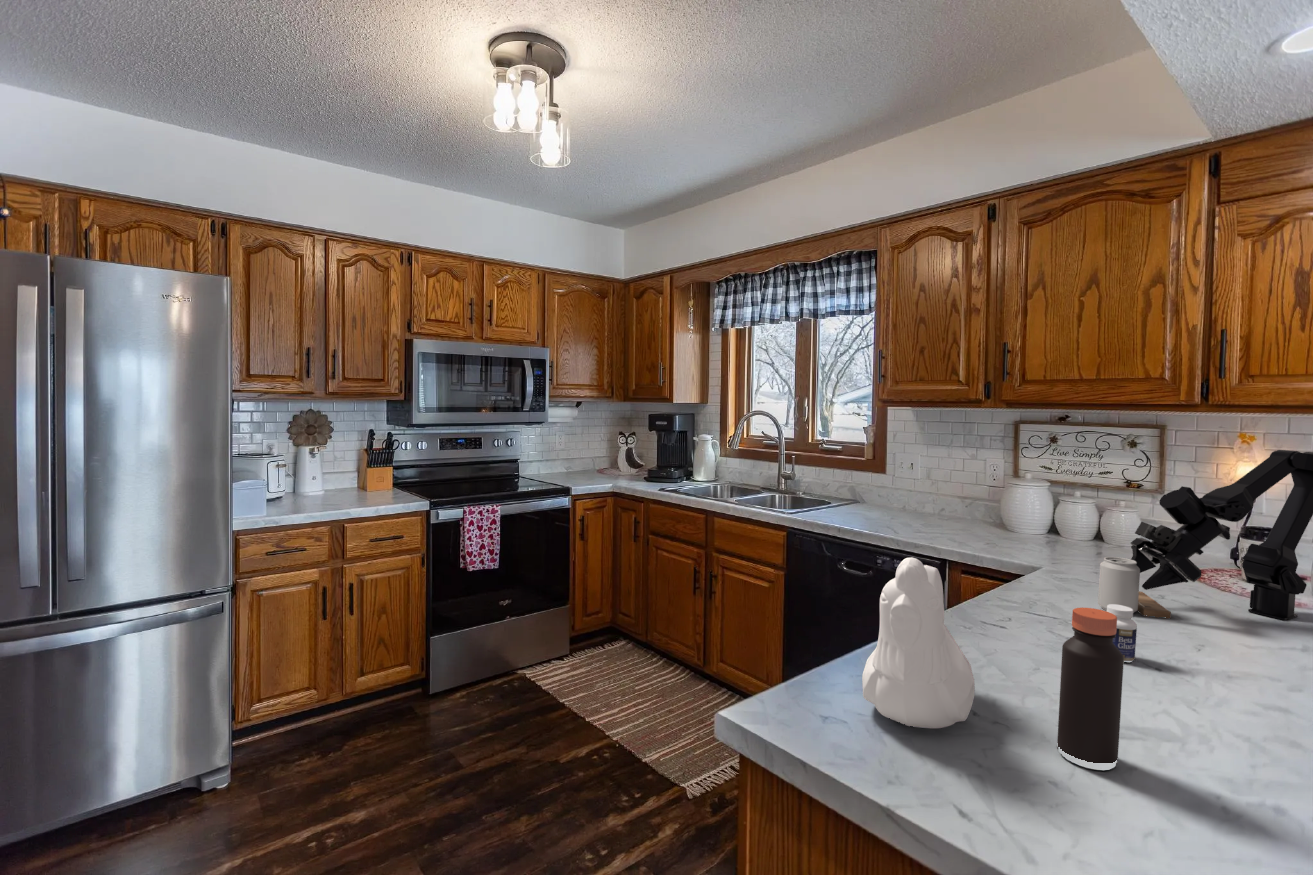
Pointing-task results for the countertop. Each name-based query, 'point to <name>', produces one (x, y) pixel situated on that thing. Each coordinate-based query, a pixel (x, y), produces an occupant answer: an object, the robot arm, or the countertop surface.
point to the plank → (1151, 607)
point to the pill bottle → (1124, 630)
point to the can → (1119, 583)
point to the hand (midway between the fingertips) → (1133, 582)
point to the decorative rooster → (917, 654)
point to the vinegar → (1091, 688)
